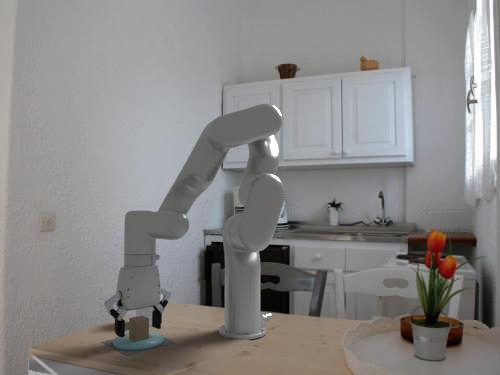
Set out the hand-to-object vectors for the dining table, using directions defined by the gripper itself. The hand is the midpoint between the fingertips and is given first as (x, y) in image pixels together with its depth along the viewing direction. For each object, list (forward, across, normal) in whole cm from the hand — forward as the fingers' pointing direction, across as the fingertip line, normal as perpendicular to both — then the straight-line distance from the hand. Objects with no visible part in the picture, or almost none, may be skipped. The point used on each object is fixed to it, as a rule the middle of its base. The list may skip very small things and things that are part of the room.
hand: (138, 331), depth 102 cm
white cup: (+3, -10, -14) cm, 17 cm away
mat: (+3, 0, 0) cm, 3 cm away
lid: (+2, 0, 0) cm, 2 cm away
